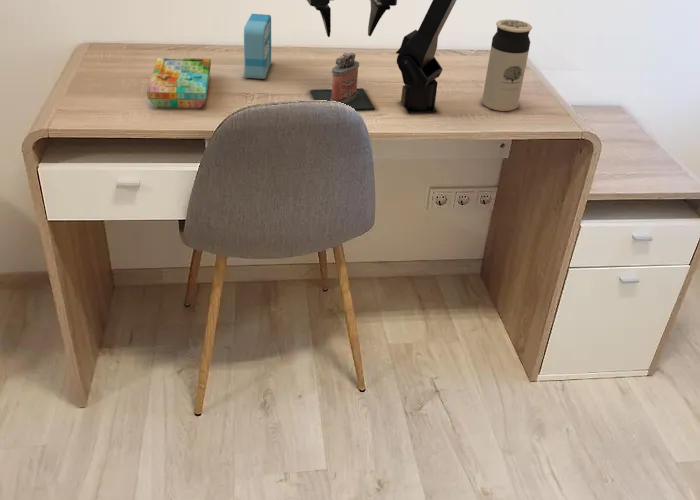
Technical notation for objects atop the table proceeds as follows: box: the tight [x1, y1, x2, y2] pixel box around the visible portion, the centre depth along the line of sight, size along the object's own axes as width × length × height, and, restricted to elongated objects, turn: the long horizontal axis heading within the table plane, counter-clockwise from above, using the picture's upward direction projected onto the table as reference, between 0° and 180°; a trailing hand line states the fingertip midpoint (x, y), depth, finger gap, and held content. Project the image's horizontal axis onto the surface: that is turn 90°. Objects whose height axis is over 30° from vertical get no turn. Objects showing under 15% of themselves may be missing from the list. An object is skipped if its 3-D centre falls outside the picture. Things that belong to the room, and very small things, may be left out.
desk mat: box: [310, 87, 376, 112], centre depth 163 cm, size 12×11×1 cm
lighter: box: [330, 52, 360, 104], centre depth 160 cm, size 8×3×10 cm, turn 145°
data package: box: [243, 13, 272, 80], centre depth 172 cm, size 12×4×12 cm, turn 177°
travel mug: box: [481, 18, 533, 112], centre depth 162 cm, size 8×8×18 cm
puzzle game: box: [146, 57, 212, 109], centre depth 161 cm, size 12×5×20 cm
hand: (349, 36), depth 162 cm, fingers open, 9 cm apart
